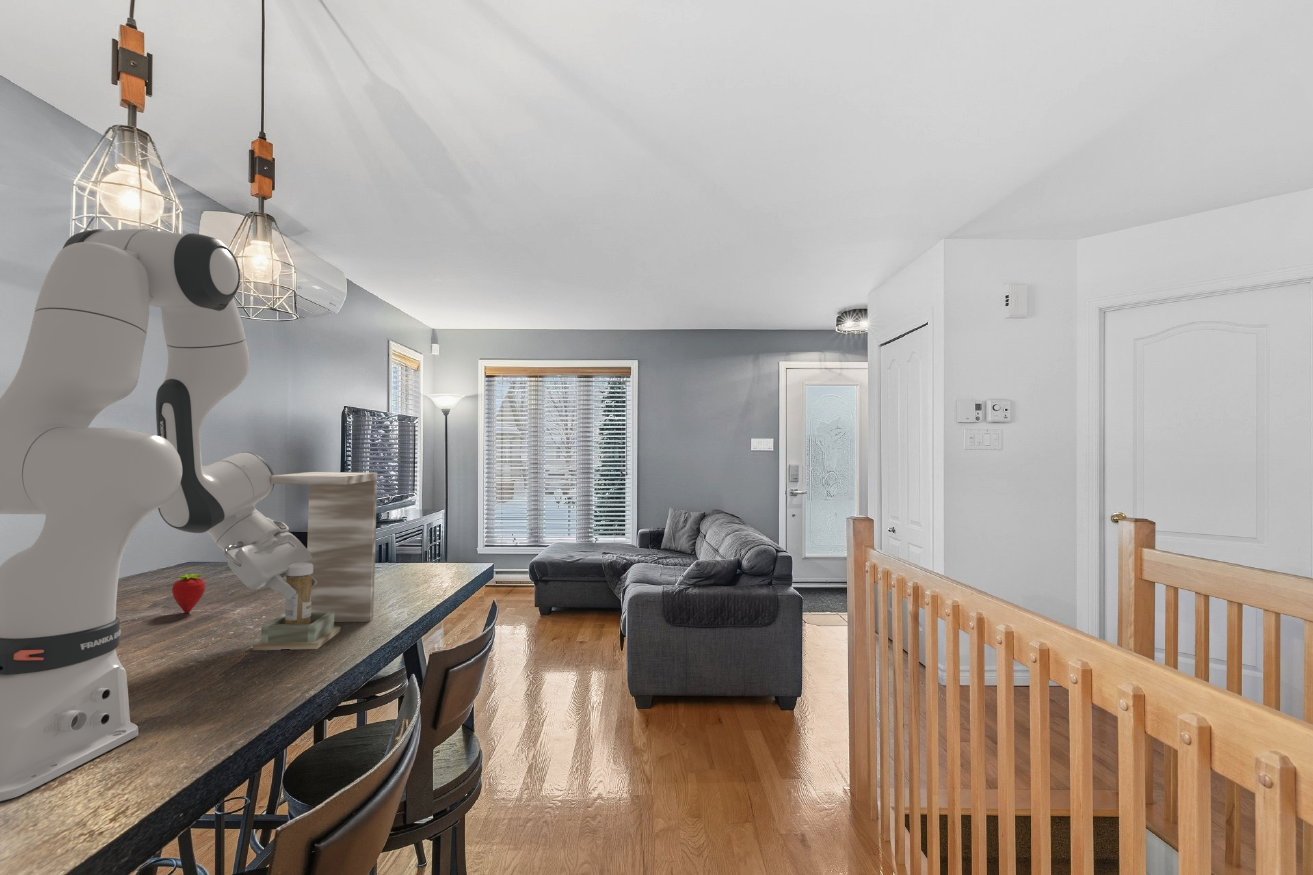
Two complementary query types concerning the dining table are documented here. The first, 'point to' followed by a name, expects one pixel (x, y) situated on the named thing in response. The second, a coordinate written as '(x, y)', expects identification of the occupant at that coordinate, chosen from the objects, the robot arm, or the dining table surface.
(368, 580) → the awning socket
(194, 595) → the strawberry
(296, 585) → the sprinkles bottle
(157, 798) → the dining table surface
